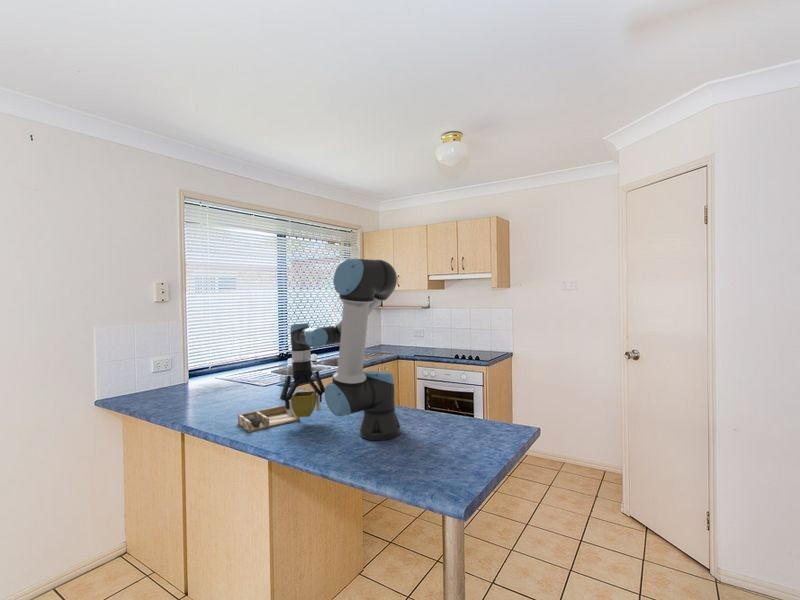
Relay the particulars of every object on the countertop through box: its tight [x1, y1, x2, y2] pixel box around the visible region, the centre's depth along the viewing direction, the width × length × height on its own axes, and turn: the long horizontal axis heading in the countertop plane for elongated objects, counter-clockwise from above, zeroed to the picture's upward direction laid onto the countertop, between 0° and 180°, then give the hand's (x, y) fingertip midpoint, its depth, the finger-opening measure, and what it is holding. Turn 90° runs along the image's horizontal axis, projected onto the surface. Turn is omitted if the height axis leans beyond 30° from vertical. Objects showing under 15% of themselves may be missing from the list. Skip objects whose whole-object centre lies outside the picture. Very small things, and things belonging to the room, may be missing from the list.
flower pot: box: [290, 390, 317, 418], centre depth 163 cm, size 9×9×9 cm
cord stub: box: [247, 415, 260, 426], centre depth 163 cm, size 11×3×3 cm, turn 38°
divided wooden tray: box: [237, 404, 301, 433], centre depth 168 cm, size 15×21×4 cm
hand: (304, 413), depth 163 cm, fingers closed on flower pot, 11 cm apart
